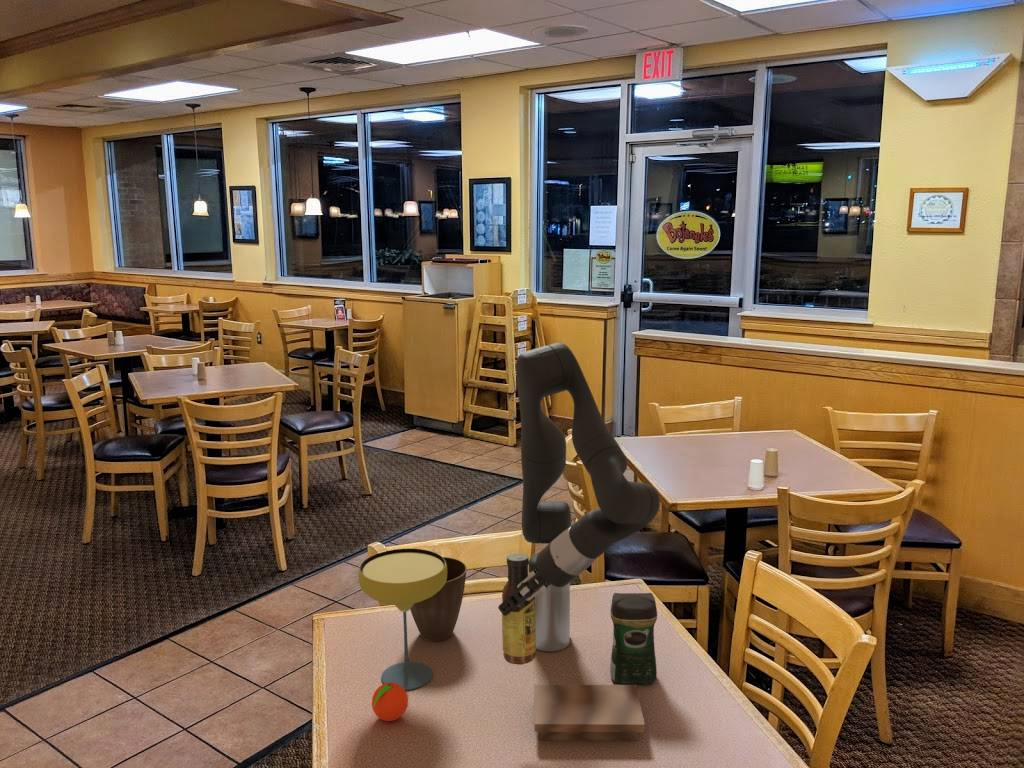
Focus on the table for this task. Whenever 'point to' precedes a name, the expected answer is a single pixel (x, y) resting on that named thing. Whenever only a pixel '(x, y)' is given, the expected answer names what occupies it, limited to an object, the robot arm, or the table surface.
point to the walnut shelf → (587, 712)
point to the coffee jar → (633, 639)
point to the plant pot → (442, 605)
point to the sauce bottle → (518, 616)
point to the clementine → (389, 701)
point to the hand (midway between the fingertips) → (511, 603)
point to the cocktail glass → (404, 598)
